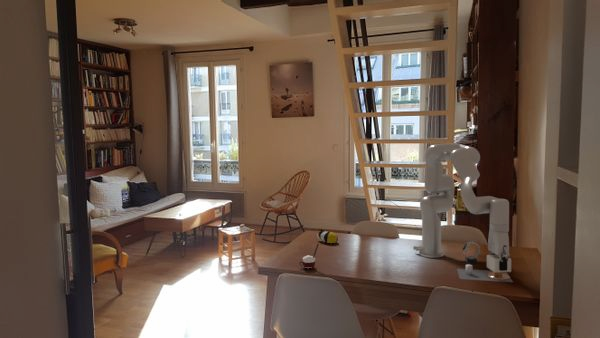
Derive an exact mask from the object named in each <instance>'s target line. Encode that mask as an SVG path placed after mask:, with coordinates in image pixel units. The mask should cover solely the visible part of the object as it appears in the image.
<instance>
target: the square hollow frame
mask: <svg viewBox="0 0 600 338" xmlns="http://www.w3.org/2000/svg"><path fill="white" fill-rule="evenodd" d="M503 257H505V256H502V258H503ZM499 261H500V257H499V255H490V254H487V255H486V268H487V269H489V271H493V272H507V273H511V272H512V258H510V257H509V259H508V262H507V271H500V270H499Z"/></svg>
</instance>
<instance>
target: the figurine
mask: <svg viewBox="0 0 600 338" xmlns="http://www.w3.org/2000/svg"><path fill="white" fill-rule="evenodd" d="M318 230H319V232H318V233H317V234H316V237H317V238H318V239H319V241H320V242H321V241H324V242H323V243H325V242H326V243H325V244H327V243H334V244H337V243H336V242H338V239H339V237H338V236H337V234H336V233H335V232H333V231H326V230H324V229H322V228H318Z"/></svg>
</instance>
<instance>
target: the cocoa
mask: <svg viewBox="0 0 600 338" xmlns="http://www.w3.org/2000/svg"><path fill="white" fill-rule="evenodd" d="M318 247H319V243H317V244H316V247H315V249H314V253H313V255H305V256H303V257H302V261H300V262H299V265H300V266H301V267H302V266H304V267H315V265H316V258H315V256H316V254H317V251H318ZM304 267H303V268H304Z"/></svg>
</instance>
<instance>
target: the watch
mask: <svg viewBox="0 0 600 338" xmlns="http://www.w3.org/2000/svg"><path fill="white" fill-rule="evenodd" d="M472 244H474V245H476V246H477V250H476V252H475V254H474V256H471V255H467V254H466V253H467V251H468V250H469V248H470V247H471V245H472ZM461 251H462V253H463V255H464V256H465V257H464V260H465V262H466V263H467V264H478V259H477V257H478V256H479V255H480V253H481V248H480V246H479V244H478V243H476V242H475V241H468V242H465V243H464V245H463V247H462V248H461Z"/></svg>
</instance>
